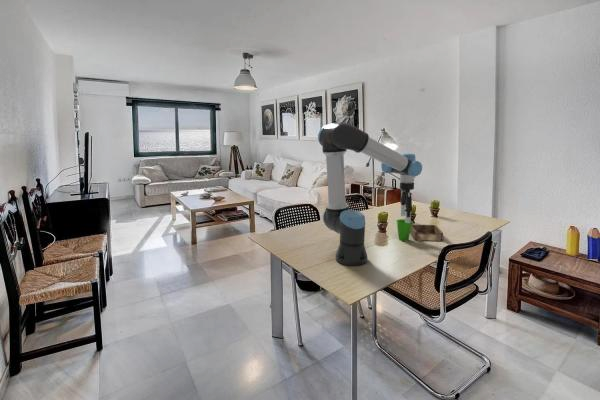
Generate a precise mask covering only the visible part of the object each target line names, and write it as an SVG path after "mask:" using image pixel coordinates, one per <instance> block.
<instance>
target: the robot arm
mask: <svg viewBox="0 0 600 400" xmlns="http://www.w3.org/2000/svg"><path fill="white" fill-rule="evenodd" d="M317 138H318V139H317V141H318V143H319V144H320V145H321V146H322V147H321V148H322V154H324V156H325V158H326V159H325V162H326V176H327V177H326V179H327V180H326V181H327V198H328V199H327V200H328V202H327V204H325V210H324V212H323V214H322V221H323V223H324V225H325V226H326V227H327V229H330V231H333V232H335V233H337V234H339V245H338V247H337V251H336V254H335V261H336V262H337V263H339V264H341V265H344V266H350V267H351V266H352V267H353V266H354V267H356V266H357V267H359V266H363V265H365V264H367V263H368V258H369V257H368V254H367V253H368V252H367V249H366V247H365V237H366V236H365V232H366V216H365V215H364V213H362V212H361V211H358V210H354V209H350V206H349V204H348V203H347V202H346V183H345V182H346V181H345V179H346V178H345V177H346V176H345V158H344V157H345V156H344V155H345V154H346V152H347V150H350V151H353V152H355V153H362V154H364V155H366V156H368V157H370V158H372V159H374V160H376V161H378V162H380V163H381V165H380V168H381V170H382V172H383V173H384V174H398V175H399V189H400V190H401V195H400V200H399V201H400V202H399V203H400V217H404V219H405V223H410V221H412V220H411V219H412V211H413V203H412V202H413V201H412V195H413V193H412V192H411V191H412V190H414V189H415V179H416V178H417V177H418V176H419V175H420V174H421V173H422V171H423V164H422V163H421V162H420V161H419V160H416V154H415V153H399V152H397V151H395V150H393V149H391V148H390V147H388V146H387V145H384V144H382V143H380V142H379V141H377V140H375V139H373V138H371V137H370V136H369V134H368V132H366V131H364V130H362V129H359V128H358V127H357V126H355V125H353V124H351V123H347V122H331V123H327V124H325V125H323V126H322V127H321V128H320V130H319V132H318V135H317Z"/></svg>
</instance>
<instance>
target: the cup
mask: <svg viewBox="0 0 600 400" xmlns="http://www.w3.org/2000/svg"><path fill="white" fill-rule="evenodd" d="M413 223H414V221H413V220H411V221H410V223H405V218H401V219H400V218H399V219H396V225H397V234H398V240H399V241H400V242H408V241H409V239H410V236H411V234H410V231H411V227H412V224H413Z"/></svg>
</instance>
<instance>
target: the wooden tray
mask: <svg viewBox="0 0 600 400" xmlns="http://www.w3.org/2000/svg"><path fill="white" fill-rule="evenodd" d="M410 237H412V239H413V240H414V241H417V242H442V241H443V242H444V240H443V239H444V232H443V231H442V230H441V229H440V228H439V227H438V226H437V225H436V224H417V223H416V224H415V223H414V224H413V223H412V227H411V231H410Z"/></svg>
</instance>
